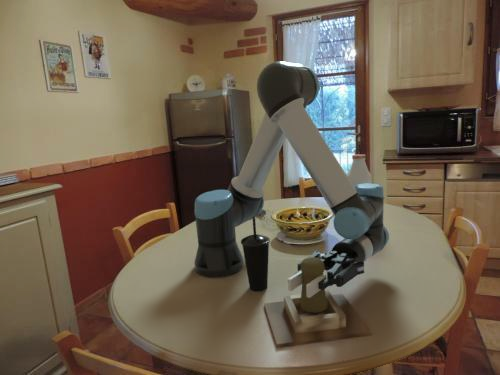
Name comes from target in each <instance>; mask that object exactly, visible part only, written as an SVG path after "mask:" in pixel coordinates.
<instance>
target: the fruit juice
mask: <svg viewBox="0 0 500 375" xmlns="http://www.w3.org/2000/svg"><path fill="white" fill-rule="evenodd" d="M351 158H352V164H351V166H350V169H349V171H348V173H347V174H346V175H347V177H348V178H349V180H350V182H351V183H352V185H353V186H354V188H355V186H356V185H359V184H365V183H372V180H373V179H372V174H371V173H370V171H369V167H368V166H367V163H366V160H367V159H366V158H367V155H366V154H365V153H363V154H360V153H359V154H357V153H356V154H352V157H351Z"/></svg>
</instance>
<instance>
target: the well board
mask: <svg viewBox="0 0 500 375" xmlns="http://www.w3.org/2000/svg"><path fill="white" fill-rule="evenodd" d="M325 294H326V300H327V308H326V309H325V310H324V311H322V312H318V313H312V312H307V311H305V310H303V309H302V308H301V306H300V302H301V293H299V294H292V295H284V296H283V301H281V300H280V301H274V302H265V303H263V306H264V309H265V312H266V316H267V320H268V323H269V327H270V329H271V330H270V331H271V333H272V335H273V339H274V342H275V343H274V344H275V345H276V348H277V349H279V348H284V347H293V346H301V345H306V344H313V343H314V344H315V343H322V342H327V341H328V342H330V341H336V340H343V339H349V338H357V337H358V338H359V337H365V336H371V335H372V331H371V329H370V328H369V326H368V325H367V323H365V321H364V320H363V318H362V317H361V316H360V314H359V313H358V312H357V310H355V308H354V307H353V305H352V304H351V303H350V302H349V300H348V299H347V297H346V296H345V294H344V293H339V294H331V292H330V290H325Z"/></svg>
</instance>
